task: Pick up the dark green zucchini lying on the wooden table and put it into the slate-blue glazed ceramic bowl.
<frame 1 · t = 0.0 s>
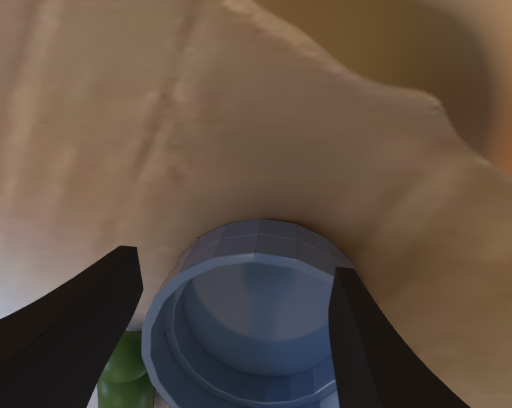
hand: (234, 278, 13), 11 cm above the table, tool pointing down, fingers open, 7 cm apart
bowl: (265, 307, 26), on the table
zucchini: (137, 368, 29), on the table
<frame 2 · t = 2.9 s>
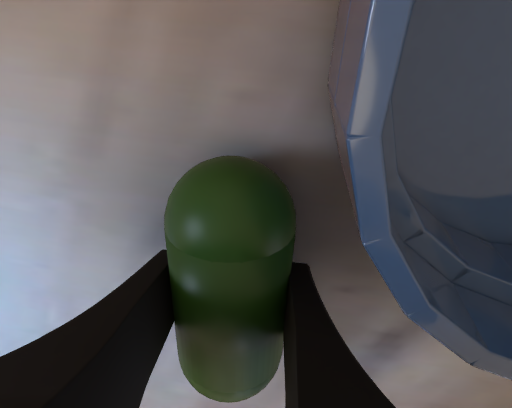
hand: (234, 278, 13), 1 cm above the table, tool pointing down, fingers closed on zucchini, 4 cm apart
zucchini: (233, 253, 14), on the table, tilted 6°, touching gripper
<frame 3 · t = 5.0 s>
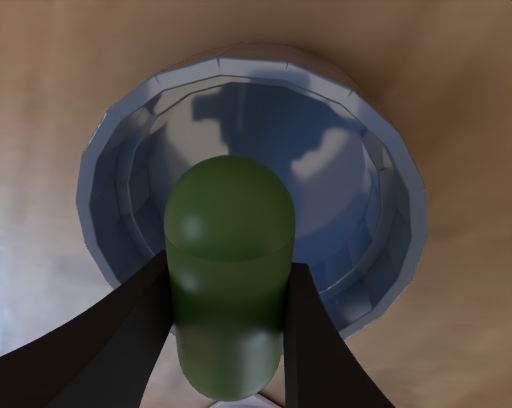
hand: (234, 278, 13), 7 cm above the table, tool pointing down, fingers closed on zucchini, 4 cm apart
bowl: (257, 185, 19), on the table
zucchini: (233, 252, 14), point 6 cm above the table, tilted 6°, touching gripper
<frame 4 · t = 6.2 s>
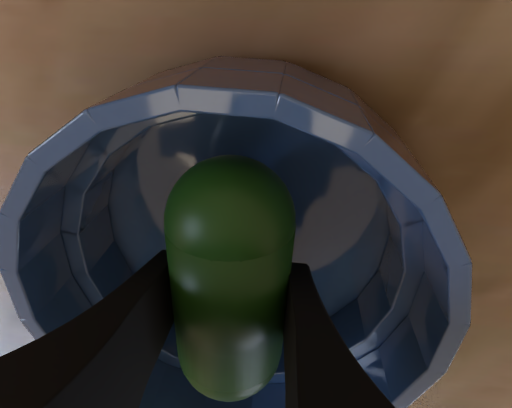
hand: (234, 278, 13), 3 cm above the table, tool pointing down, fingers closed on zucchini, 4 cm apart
bowl: (245, 229, 16), on the table
zucchini: (233, 252, 14), point 2 cm above the table, tilted 6°, touching gripper
when the fingers open (2 cm above the table, at t = 7.0 s): zucchini stays where it is, resting on bowl.
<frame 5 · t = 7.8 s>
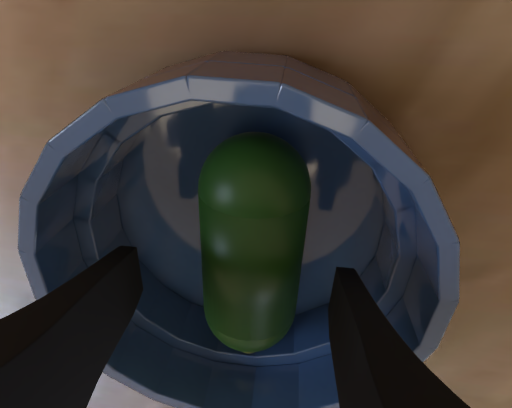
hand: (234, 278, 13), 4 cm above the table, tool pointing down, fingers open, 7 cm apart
bowl: (248, 218, 16), on the table
zucchini: (241, 224, 16), point 1 cm above the table, tilted 21°, touching bowl
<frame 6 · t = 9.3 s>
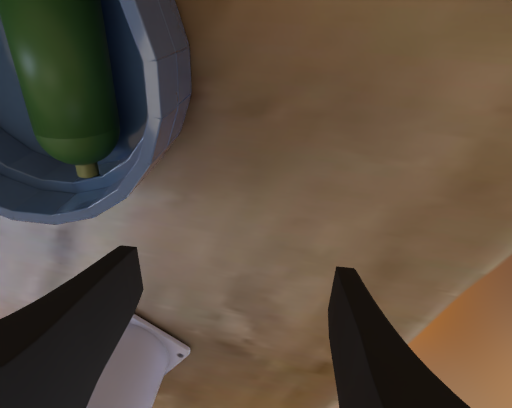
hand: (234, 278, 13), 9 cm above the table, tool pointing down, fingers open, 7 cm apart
bowl: (63, 59, 19), on the table
zucchini: (47, 61, 18), point 1 cm above the table, tilted 54°, touching bowl
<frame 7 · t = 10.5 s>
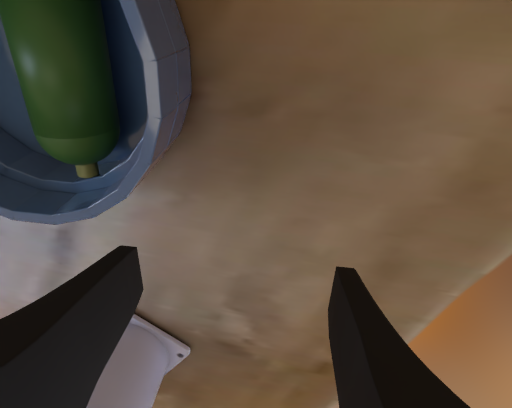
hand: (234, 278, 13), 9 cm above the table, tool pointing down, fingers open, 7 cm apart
bowl: (63, 59, 19), on the table
zucchini: (47, 61, 18), point 1 cm above the table, tilted 54°, touching bowl
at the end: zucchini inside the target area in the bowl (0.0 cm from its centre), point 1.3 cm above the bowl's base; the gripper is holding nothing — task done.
